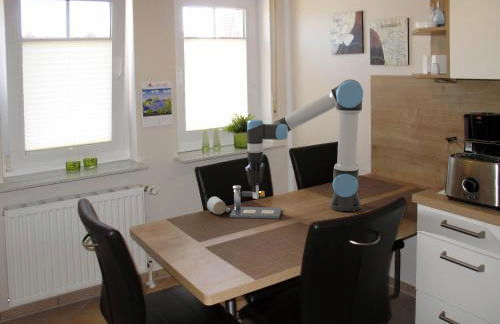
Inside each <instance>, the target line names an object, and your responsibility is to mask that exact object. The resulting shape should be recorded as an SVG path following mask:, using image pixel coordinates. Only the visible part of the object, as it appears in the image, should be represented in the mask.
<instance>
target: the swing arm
mask: <svg viewBox="0 0 500 324" xmlns="http://www.w3.org/2000/svg"><path fill="white" fill-rule="evenodd" d="M241 197H253V192H252V191H248V190H247V191H244V190H243V191H242V192H241ZM259 197H260V198H265V191H264V190H259Z"/></svg>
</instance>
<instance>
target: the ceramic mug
mask: <svg viewBox="0 0 500 324" xmlns="http://www.w3.org/2000/svg"><path fill="white" fill-rule="evenodd" d="M206 207H207V209H208V211H210V212H211V213H213V214H215V215H217V216H218V215H222V214H224V213H226V212H230V210H231V208H230V207H228V206H227V205H226V203H225V202H224V201H223V200H222V199H220V197H218V196H211V197H210V198H209V199H208V200H207V204H206Z"/></svg>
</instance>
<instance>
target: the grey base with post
mask: <svg viewBox="0 0 500 324" xmlns="http://www.w3.org/2000/svg"><path fill="white" fill-rule="evenodd" d="M241 188H242V186H241V185H236V184H235V185H233V186H232V189H233V192H234V193H233V197H234V198H233V200H234V201H233V203H234V208H233V209H232V210H231V212H230V214H229V218H231V219H232V218H235V219H236V218H237V219H238V218H239V219H276V220H277V219H278V220H279V219H280V216H281V213H282V211H283V210H282V207H266V206H264V207H263V206H262V207H261V206H260V207H259V206H241Z"/></svg>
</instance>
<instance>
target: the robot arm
mask: <svg viewBox="0 0 500 324" xmlns="http://www.w3.org/2000/svg"><path fill="white" fill-rule="evenodd" d="M363 98H364V89H363V87H362V84H361V83H360V82H359V81H357V80H355V79H351V78H350V79H346V80H344V81H342V82H341V83H340V84H338V85H337V86H335V87H334V88H332V89H331V90H330V91H329V92H328V93H327V94H326V95H323V96H322V97H320V98H318V99H316V100H314V101H312V102H309V103H307V104H306V105H304V106H302V107H300V108H298V109H297V110H295V111H293V112H291V113H289V114H287V115H285V116H284V117H282V118H279V119H277V120H275V121H274V122H273V123H264V122H263V120H262V119H258V118H255V119H249V120H248V121H247V123H246V124H247V127H246V128H247V129H246V132H247V133H246V134H247V135H246V137H247V144H246V146H247V160H248V164H247V166H245V167H244V170H245V172H246V176H247V181H248V185H249V186H251V192H253V196H252V199H255V200H258V199H259V192H260V186H262V183H263V179H264V173H265V168H266V163H263V160H264V152H263V151H264V142H263V141H264V140H265V141H267V140H271V141H272V140H273V141H285V140H287V139H288V135H289V132H291V131H292V130H295V129H296V128H298V127H300V126H303V125H304V124H306V123H308V122H310V121H312V120H313V119H316V118H319V116H322V115H324V114H325V113H327V112H329V111H331V110H333V109H336V111H337V112H338V115H339V117H338V135H337V137H338V138H337V139H338V140H337V159H336V160H337V162H336V163H335V164H334V167H333V174H332V175H333V176H332V177H333V179H332V180H333V181H332V186H331V187H332V189H333V195H332V197H331V201H330V203H329V204H330V209H331V208H332V209H331V210H333V209H334V210H333V211H335V210H339V211H338V212H340V211H354V210H358V209H360V208H361V209H362V207H361V206H362V203H361V200H360V197H359V193H358V190H359V170H360V168H359V166H358V165H359V164H357V147H358V144H357V142H358V127H359V126H358V124H359V114H360V113H361V112H362V111H363ZM361 209H360V210H361ZM358 211H359V210H358ZM354 212H355V211H354Z"/></svg>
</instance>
